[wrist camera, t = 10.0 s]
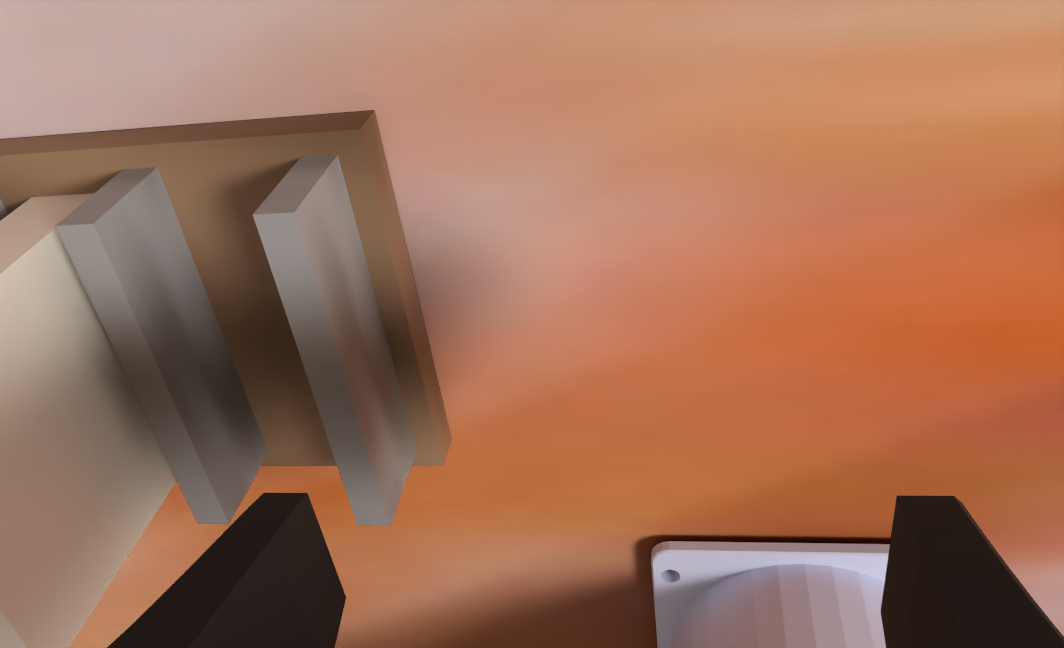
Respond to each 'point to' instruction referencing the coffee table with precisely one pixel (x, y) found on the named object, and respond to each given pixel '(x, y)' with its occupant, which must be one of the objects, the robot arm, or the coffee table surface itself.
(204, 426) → the dish rack
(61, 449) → the upright cream panel
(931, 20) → the coffee table surface
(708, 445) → the coffee table surface
